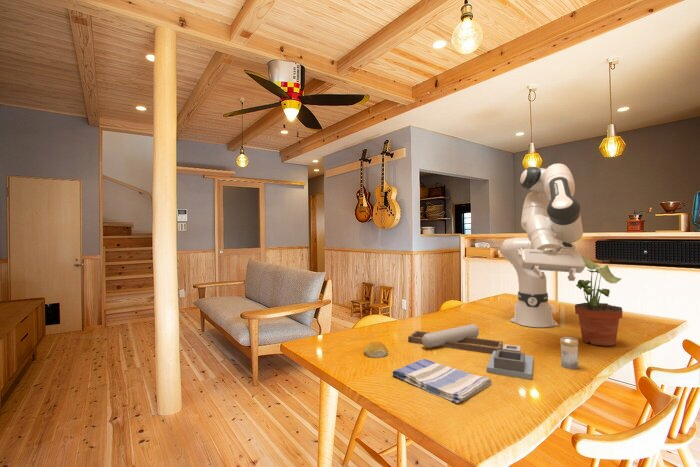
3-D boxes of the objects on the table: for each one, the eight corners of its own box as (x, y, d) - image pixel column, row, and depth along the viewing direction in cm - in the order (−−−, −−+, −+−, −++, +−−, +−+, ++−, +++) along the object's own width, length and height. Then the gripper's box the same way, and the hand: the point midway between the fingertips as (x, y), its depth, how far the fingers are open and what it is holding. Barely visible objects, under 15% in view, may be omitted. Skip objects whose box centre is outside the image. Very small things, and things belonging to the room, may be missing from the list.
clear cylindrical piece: (560, 362, 109) (559, 335, 109) (578, 364, 106) (577, 337, 106) (561, 367, 104) (560, 340, 104) (579, 370, 102) (579, 342, 102)
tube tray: (415, 335, 141) (415, 330, 141) (502, 346, 124) (502, 341, 124) (408, 342, 133) (408, 336, 133) (500, 354, 117) (500, 349, 117)
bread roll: (384, 348, 127) (384, 338, 127) (390, 357, 118) (389, 346, 118) (362, 350, 126) (362, 339, 126) (366, 359, 117) (366, 347, 117)
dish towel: (459, 407, 84) (459, 396, 84) (390, 378, 102) (389, 368, 102) (494, 386, 95) (494, 376, 95) (426, 363, 113) (426, 354, 113)
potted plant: (570, 344, 125) (568, 249, 125) (578, 334, 136) (576, 247, 136) (625, 353, 114) (622, 249, 114) (629, 342, 125) (626, 247, 125)
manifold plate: (493, 354, 117) (493, 341, 117) (533, 360, 111) (532, 346, 111) (486, 372, 103) (486, 357, 103) (531, 379, 97) (531, 363, 97)
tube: (429, 339, 121) (480, 328, 132) (420, 331, 125) (470, 321, 136) (426, 352, 122) (477, 340, 133) (417, 343, 127) (467, 332, 138)
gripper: (518, 241, 124) (527, 270, 114) (579, 244, 121) (594, 274, 111) (513, 253, 128) (521, 282, 118) (572, 257, 125) (586, 286, 115)
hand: (557, 278), depth 114 cm, fingers open, 8 cm apart
